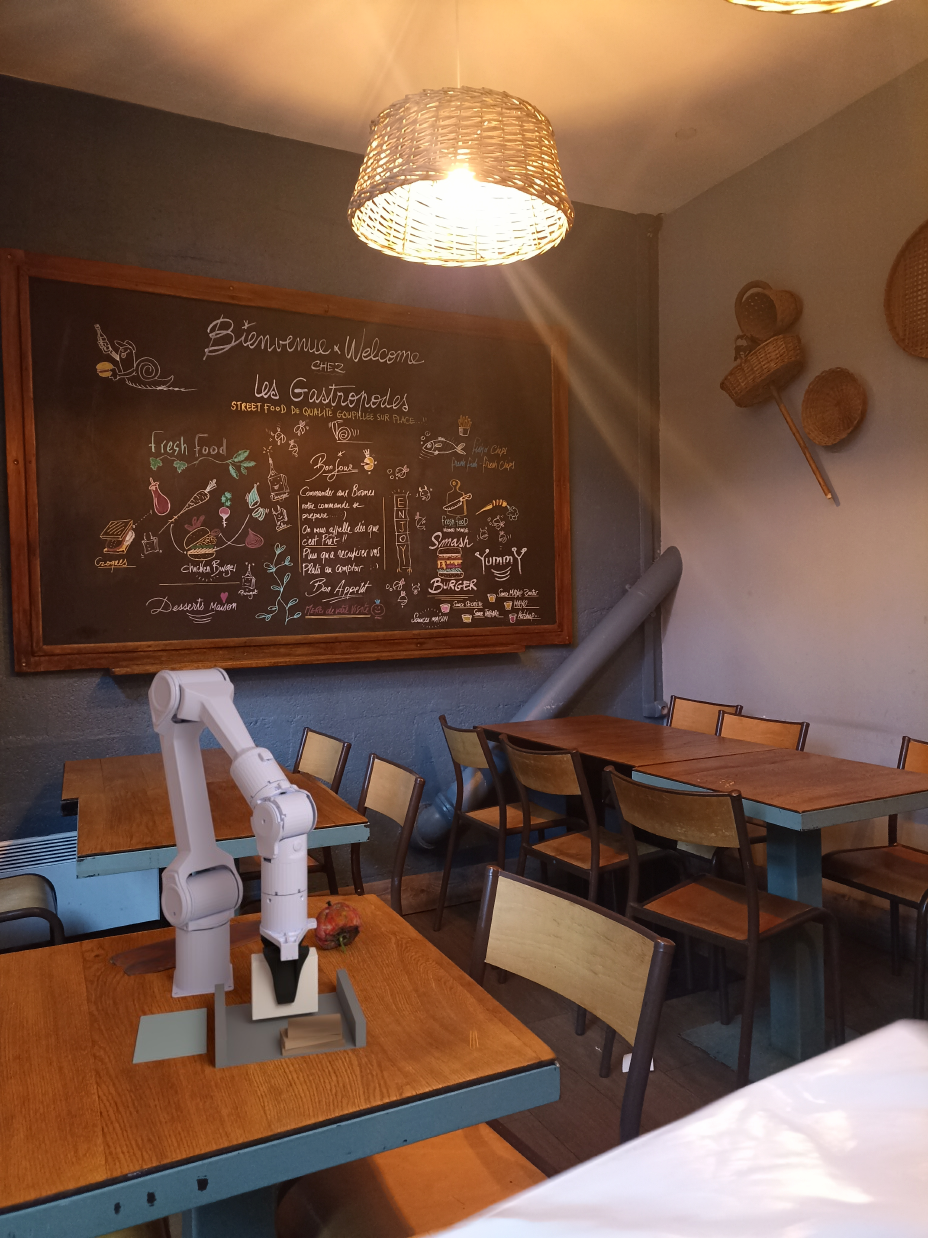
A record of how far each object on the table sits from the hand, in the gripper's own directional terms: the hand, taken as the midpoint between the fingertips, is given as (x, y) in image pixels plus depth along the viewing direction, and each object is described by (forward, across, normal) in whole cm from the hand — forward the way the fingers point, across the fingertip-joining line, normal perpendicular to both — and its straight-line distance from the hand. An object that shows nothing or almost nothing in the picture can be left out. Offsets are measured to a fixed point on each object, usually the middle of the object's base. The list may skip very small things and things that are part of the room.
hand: (284, 996), depth 108 cm
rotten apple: (+3, +22, -10) cm, 25 cm away
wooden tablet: (+4, +30, +10) cm, 32 cm away
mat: (+3, -1, +14) cm, 14 cm away
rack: (+3, -2, 0) cm, 4 cm away
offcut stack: (+3, -8, -2) cm, 9 cm away
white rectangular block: (+2, 0, 0) cm, 2 cm away
